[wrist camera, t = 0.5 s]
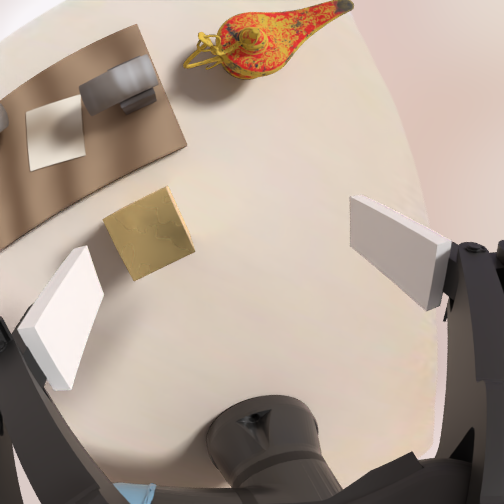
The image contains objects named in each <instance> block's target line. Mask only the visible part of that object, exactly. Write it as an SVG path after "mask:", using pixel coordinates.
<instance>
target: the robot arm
mask: <svg viewBox="0 0 504 504" xmlns="http://www.w3.org/2000/svg"><path fill="white" fill-rule="evenodd" d="M350 246H351V247H352V248H353V249H354V250H355V251H357V252H358V253H359V254H360V255H362V256H363V257H364V258H365V259H366V260H368V261H369V262H370V263H371V264H372V265H374V266H375V267H376V268H377V269H378V270H379V271H381V272H382V273H383V274H384V275H385V276H386V277H388V278H389V279H390V280H391V281H392V282H393V283H395V284H396V285H397V286H398V287H399V288H400V289H402V290H403V291H404V292H405V293H406V294H407V295H408V296H409V297H411V298H412V299H413V300H414V301H415V302H416V303H417V304H418V305H420V306H421V307H422V308H423V309H424V310H425V311H428V310H431V309H434V308H436V307H438V306H440V304H441V299H442V294H443V292H444V293H445V294H446V295H448V296H449V299H448V303H447V308H446V312H445V316H444V320H443V321H446V319H448V356H447V357H448V358H447V381H446V394H445V405H444V415H443V423H442V431H441V438H440V444H439V448H438V451H437V454H436V456H435V458H430V459H424V460H417V458H416V456H415V455H414V453H413V452H410V453H408V454H406V455H404V456H402V457H400V458H398V459H396V460H394V461H391V462H389V463H387V464H385V465H383V466H380V467H378V468H376V469H374V470H371V471H370V472H368V473H367V474H365V475H364V476H363V477H361V478H360V479H358V480H357V481H355V482H354V483H352V484H351V485H349V486H348V487H346V488H345V489H342V487H341V485H340V484H339V482H338V481H337V479H336V478H335V476H334V475H333V473H332V471H331V470H330V468H329V467H328V465H327V463H326V462H325V460H324V458H323V457H322V454H321V448H320V443H319V438H318V425H317V422H316V419H315V417H314V416H313V414H312V413H311V411H310V410H309V408H308V407H307V406H306V405H305V404H304V403H303V402H301V401H300V400H298V399H295V398H292V397H289V396H282V395H269V396H261V397H256V398H252V399H249V400H246V401H243V402H241V403H239V404H237V405H235V406H233V407H231V408H229V409H228V410H226V411H225V412H224V413H222V414H221V415H220V416H219V417H218V418H217V419H216V420H215V421H214V422H213V424H212V425H211V427H210V429H209V431H208V434H207V447H208V452H209V456H210V459H211V461H212V462H213V464H214V465H215V466H216V468H217V469H219V470H220V472H221V473H222V475H223V476H224V478H225V479H226V481H227V482H228V483H229V485H230V486H231V488H184V487H168V486H156V484H153V483H151V484H149V485H143V484H131V483H114V484H112V483H111V482H110V480H109V479H108V478H107V477H106V476H105V474H104V473H103V472H102V471H101V470H100V468H99V467H98V466H97V465H96V463H95V462H94V461H93V459H92V458H91V457H90V456H89V454H88V453H87V452H86V450H85V449H84V447H83V446H82V445H81V443H80V442H79V441H78V439H77V438H76V436H75V435H74V433H73V432H72V430H71V429H70V428H69V426H68V425H67V423H66V421H65V420H64V418H63V417H62V415H61V414H60V412H59V411H58V409H57V407H56V406H55V404H54V402H53V401H52V399H51V397H50V396H49V394H48V392H47V391H46V390H45V388H44V385H45V382H46V380H48V382H49V383H50V385H51V386H52V388H53V389H54V391H63V390H72V387H73V383H74V380H75V376H76V373H77V370H78V367H79V364H80V360H81V357H82V354H83V351H84V348H85V345H86V342H87V339H88V337H89V334H90V331H91V328H92V325H93V323H94V320H95V317H96V314H97V312H98V309H99V307H100V304H101V301H102V299H103V296H104V293H103V290H102V288H101V285H100V282H99V279H98V276H97V274H96V271H95V268H94V265H93V262H92V259H91V256H90V253H89V250H88V246H87V245H86V246H82V247H78V248H74V249H73V250H72V251H71V253H70V254H69V255H68V256H67V258H66V259H65V260H64V262H63V263H62V264H61V266H60V267H59V268H58V270H57V271H56V272H55V274H54V275H53V277H52V278H51V279H50V281H49V282H48V284H47V285H46V286H45V288H44V289H43V291H42V292H41V293H40V295H39V296H38V298H37V299H36V301H35V302H34V303H33V304H32V305H31V306H30V307H29V308H28V309H27V311H26V312H25V314H24V316H23V317H22V318H21V320H20V322H19V323H18V325H17V326H16V328H15V329H14V331H13V333H12V334H11V333H10V331H9V329H8V327H7V325H6V324H5V322H4V320H3V318H2V317H0V504H23V500H22V496H21V492H20V487H19V483H18V477H17V472H16V467H15V461H14V455H13V447H12V444H13V446H14V449H15V451H16V453H17V456H18V458H19V460H20V462H21V465H22V467H23V469H24V471H25V473H26V475H27V477H28V479H29V482H30V484H31V485H32V487H33V489H34V491H35V493H36V495H37V497H38V499H39V500H40V502H41V504H504V240H502V241H500V242H499V244H498V249H497V252H495V253H494V252H493V253H489V251H488V250H487V249H486V248H485V247H484V246H482V245H480V244H477V243H474V242H464V243H461V244H459V245H458V244H456V243H454V242H452V241H451V240H449V239H448V238H446V237H444V236H442V235H440V234H439V233H437V232H435V231H433V230H431V229H430V228H428V227H426V226H424V225H422V224H420V223H418V222H416V221H415V220H413V219H411V218H409V217H407V216H405V215H403V214H401V213H399V212H397V211H395V210H393V209H391V208H389V207H387V206H385V205H383V204H381V203H379V202H377V201H375V200H373V199H371V198H368V197H366V196H364V195H356V196H350Z"/></svg>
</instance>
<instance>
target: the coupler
mask: <svg viewBox="0 0 504 504" xmlns="http://www.w3.org/2000/svg"><path fill="white" fill-rule="evenodd" d="M103 222H104V224H105V226H106V228H107V230H108V232H109V234H110V236H111V238H112V240H113V242H114V244H115V246H116V248H117V250H118V252H119V254H120V256H121V258H122V260H123V262H124V264H125V266H126V268H127V269H128V271H129V273H130V275H131V277H132V279H133V281H136V280H138V279H140V278H142V277H144V276H146V275H148V274H150V273H152V272H154V271H156V270H158V269H160V268H163V267H165V266H167V265H169V264H171V263H173V262H175V261H177V260H179V259H181V258H183V257H185V256H187V255H190V254H192V253H194V252H195V249H194V246H193V242H192V239H191V236H190V233H189V231H188V228H187V226H186V224H185V222H184V220H183V218H182V215H181V213H180V211H179V209H178V207H177V204H176V202H175V200H174V198H173V196H172V193H171V191H170V189H169V187H168V186H166V187H164V188H162V189H160V190H157V191H155V192H153V193H151V194H149V195H147V196H145V197H143V198H141V199H139V200H137V201H135V202H133V203H131V204H129V205H127V206H125V207H123V208H121V209H120V210H118V211H116V212H114V213H113V214H111V215H109V216H107V217H106V218H104V219H103Z"/></svg>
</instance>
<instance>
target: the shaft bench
mask: <svg viewBox="0 0 504 504" xmlns="http://www.w3.org/2000/svg"><path fill="white" fill-rule="evenodd" d="M186 146H187V143H186V140H185V138H184V136H183V133H182V131H181V129H180V126H179V124H178V122H177V119H176V117H175V114H174V112H173V110H172V107H171V105H170V103H169V100H168V98H167V95H166V93H165V91H164V88H163V86H162V84H161V81H160V79H159V76H158V74H157V72H156V69H155V67H154V64H153V62H152V59H151V57H150V55H149V52H148V50H147V47H146V45H145V42H144V40H143V38H142V35H141V33H140V30H139V28H138V25H137V24H135V25H132V26H130V27H128V28H125V29H123V30H120V31H118V32H116V33H114V34H111V35H109V36H107V37H105V38H103V39H101V40H98V41H96V42H94V43H92V44H90V45H88V46H86V47H84V48H82V49H80V50H79V51H77V52H75V53H73V54H71V55H69V56H67V57H66V58H64V59H62V60H60V61H59V62H57V63H55V64H54V65H52V66H50V67H49V68H47V69H45V70H44V71H42V72H41V73H39V74H37V75H36V76H34V77H33V78H31V79H30V80H28V81H27V82H25V83H24V84H22V85H21V86H19V87H18V88H17V89H15V90H14V91H12V92H11V93H10V94H8V95H7V96H6V97H4V98H3V99H2V100H0V250H1V249H3V248H5V247H6V246H8V245H9V244H11V243H12V242H14V241H15V240H17V239H18V238H19V237H21V236H22V235H24V234H25V233H27V232H28V231H30V230H31V229H33V228H34V227H36V226H38V225H39V224H41V223H42V222H44V221H45V220H47V219H49V218H50V217H52V216H53V215H55V214H57V213H58V212H60V211H62V210H63V209H65V208H67V207H68V206H70V205H72V204H73V203H75V202H77V201H79V200H80V199H82V198H84V197H86V196H87V195H89V194H91V193H93V192H94V191H96V190H98V189H100V188H102V187H104V186H105V185H107V184H109V183H111V182H113V181H115V180H117V179H119V178H121V177H123V176H124V175H126V174H128V173H130V172H132V171H134V170H136V169H138V168H140V167H142V166H145V165H147V164H149V163H151V162H153V161H155V160H157V159H159V158H161V157H164V156H166V155H168V154H170V153H172V152H175V151H177V150H179V149H181V148H184V147H186Z"/></svg>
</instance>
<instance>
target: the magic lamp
mask: <svg viewBox="0 0 504 504" xmlns="http://www.w3.org/2000/svg"><path fill="white" fill-rule="evenodd" d="M353 8H354V4H353V2H352V1H350V0H332V1H329V2H325V3H321V4H318V5H314V6H311V7H307V8H303V9H299V10H294V11H286V12H268V13H265V12H248V13H242V14H238V15H235V16H233V17H231V18H229V19H228V20H227V21H226V22H224V23H223V25H222V26H221V27H220V28H219V30H218V33H217V35H205V34H204V33H203V32H200V33H198V38H199V39H200V40H199V41H198V43H197V50H196V51H195V52H194V53H193V54H192V55H190V56H189V57H188V58H187V60H186V61H185V62H184V64H183V67H184V68H187V69H188V68H193V67H197V66H200V65H204V64H208V63H212V62H217V63H216V64H214V65H213V66H211V67H209V68H207V67H208V66H207V67H206V68H205V69H206V70H208V69H211V68H213V67H215V66H216V65H218V64H220V63H221V64H222V66H223V67H224V69H225V70H226V71H227V72H228V73H229V74H231V75H232V76H234V77H237V78H239V79H254V78H257V77H262V76H267V75H270V74H273V73H275V72H277V71H278V70H280V69H281V68H282V67H284V66H285V65H286V64H287V62H288V61H289V60H290V58H291V57H292V56H293V54H294V53H295V52H296V51H297V49H298V48H299V47H300V46H301V45H302V44H303V43H304V42H305V41H306V40H307V39H308V38H309V37H311V36H312V35H313V34H314V33H316V32H317V31H318V30H320V29H321V28H322V27H324V26H325V25H327V24H328V23H330V22H331V21H333V20H334V19H336V18H338V17H339V16H341V15H343V14H345V13H347V12H349V11H351V10H352V9H353ZM209 37H216V46H214V45H213V44H212V42H211V40H210V38H209ZM201 42H203V43H204V44H203V45H202V46H201V47H200V46H199V45H200V43H201ZM207 46H208V47H210V49H205V48H206V47H207ZM201 51H203V52H209V51H211V53H212V54H213V55H219V56H216V57H213V58H210V59H207V60H204V61H201V62H198V63H194V64H189V62H190V61H191V60H192V59H193V58H194V57H195V56H197V55H198V54H199V53H200V52H201ZM188 64H189V65H188Z"/></svg>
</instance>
